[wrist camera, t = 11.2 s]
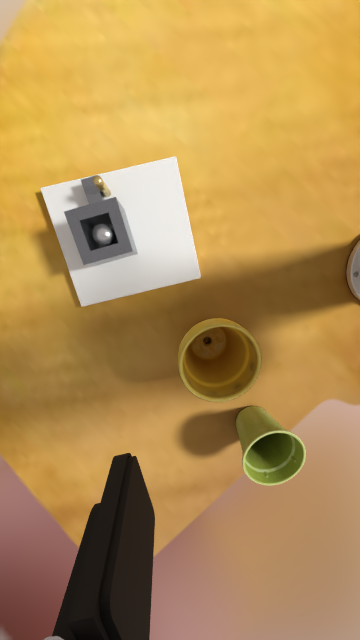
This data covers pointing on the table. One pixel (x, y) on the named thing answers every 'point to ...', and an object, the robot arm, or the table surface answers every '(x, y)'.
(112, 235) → the steel post
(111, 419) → the table surface
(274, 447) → the plant pot
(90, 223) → the grey socket block
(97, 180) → the brass dowel
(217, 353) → the plant pot
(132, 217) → the board
